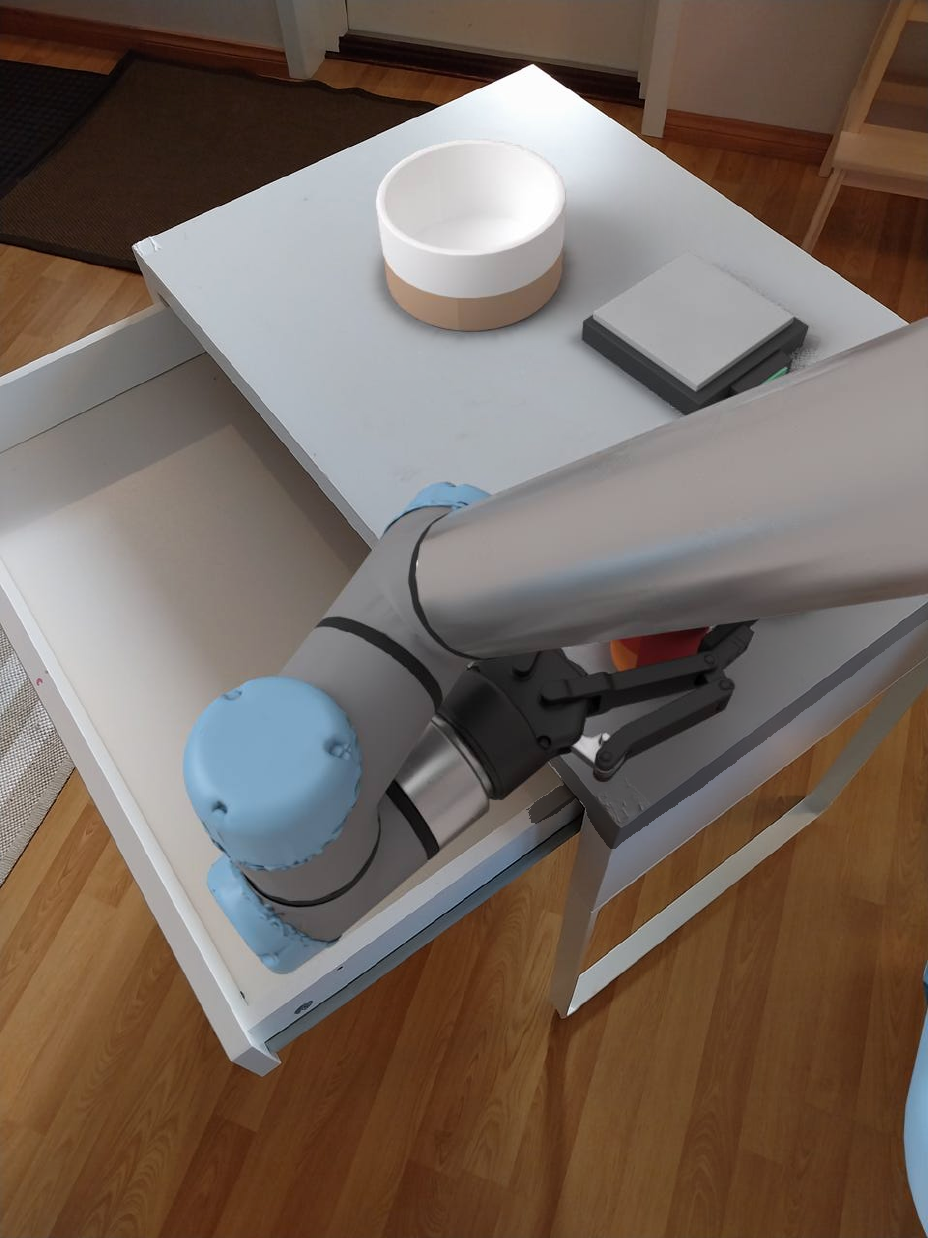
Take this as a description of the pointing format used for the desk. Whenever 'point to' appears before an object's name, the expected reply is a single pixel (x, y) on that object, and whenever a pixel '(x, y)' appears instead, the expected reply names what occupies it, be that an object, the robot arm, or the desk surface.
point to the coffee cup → (655, 647)
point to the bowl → (472, 233)
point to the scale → (695, 334)
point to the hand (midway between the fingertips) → (713, 549)
